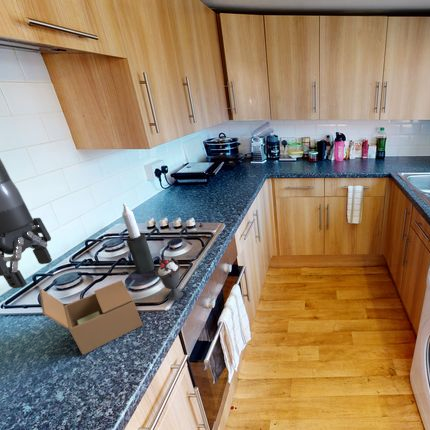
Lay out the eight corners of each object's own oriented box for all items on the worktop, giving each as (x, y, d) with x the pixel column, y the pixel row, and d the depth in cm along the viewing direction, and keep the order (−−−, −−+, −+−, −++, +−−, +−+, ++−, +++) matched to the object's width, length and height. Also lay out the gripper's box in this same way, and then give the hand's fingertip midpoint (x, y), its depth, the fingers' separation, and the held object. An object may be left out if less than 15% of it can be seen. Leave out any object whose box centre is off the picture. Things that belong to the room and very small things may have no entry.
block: (86, 343, 71) (79, 330, 69) (83, 333, 74) (77, 320, 72) (108, 332, 74) (102, 319, 72) (104, 323, 77) (98, 310, 75)
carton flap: (68, 327, 65) (66, 328, 64) (63, 303, 72) (61, 304, 71) (44, 312, 61) (42, 313, 60) (41, 288, 68) (39, 289, 67)
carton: (83, 356, 68) (67, 327, 64) (76, 330, 76) (62, 303, 72) (143, 325, 77) (132, 299, 73) (131, 305, 84) (121, 279, 80)
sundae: (166, 307, 83) (152, 265, 76) (161, 295, 88) (148, 253, 81) (190, 298, 86) (178, 256, 80) (184, 286, 91) (173, 246, 85)
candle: (154, 270, 99) (133, 204, 88) (137, 275, 97) (113, 208, 86) (154, 263, 103) (133, 199, 92) (138, 267, 101) (115, 202, 90)
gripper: (1, 194, 60) (35, 258, 67) (-64, 224, 48) (-14, 299, 55) (42, 190, 62) (71, 254, 69) (-10, 219, 49) (32, 293, 56)
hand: (33, 274), depth 62 cm, fingers open, 8 cm apart
